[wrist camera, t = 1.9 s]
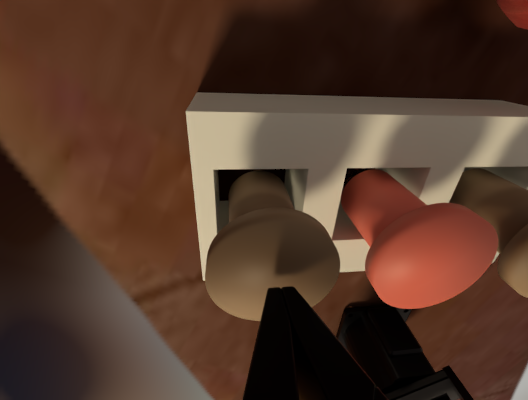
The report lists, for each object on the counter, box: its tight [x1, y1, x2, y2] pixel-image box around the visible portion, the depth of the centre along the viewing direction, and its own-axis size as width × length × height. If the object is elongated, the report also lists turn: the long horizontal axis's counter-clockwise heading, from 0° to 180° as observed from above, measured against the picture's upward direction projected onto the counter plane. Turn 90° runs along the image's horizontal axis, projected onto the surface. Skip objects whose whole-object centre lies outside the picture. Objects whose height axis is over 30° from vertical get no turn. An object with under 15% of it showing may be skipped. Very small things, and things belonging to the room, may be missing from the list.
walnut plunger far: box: [449, 168, 528, 298], centre depth 13 cm, size 5×5×6 cm
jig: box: [186, 92, 528, 281], centre depth 15 cm, size 9×18×4 cm, turn 88°
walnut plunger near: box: [205, 170, 340, 321], centre depth 11 cm, size 5×5×6 cm
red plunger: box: [341, 169, 498, 309], centre depth 12 cm, size 5×5×6 cm
